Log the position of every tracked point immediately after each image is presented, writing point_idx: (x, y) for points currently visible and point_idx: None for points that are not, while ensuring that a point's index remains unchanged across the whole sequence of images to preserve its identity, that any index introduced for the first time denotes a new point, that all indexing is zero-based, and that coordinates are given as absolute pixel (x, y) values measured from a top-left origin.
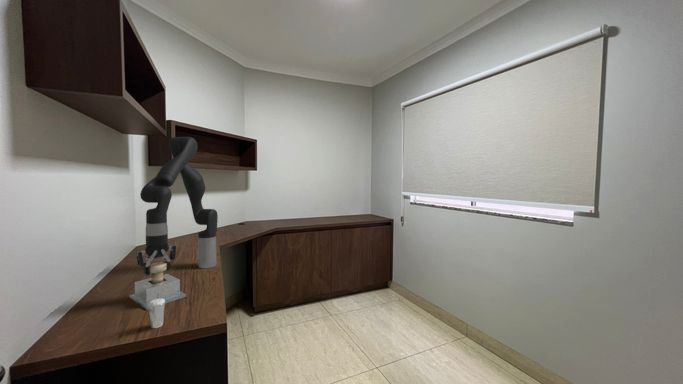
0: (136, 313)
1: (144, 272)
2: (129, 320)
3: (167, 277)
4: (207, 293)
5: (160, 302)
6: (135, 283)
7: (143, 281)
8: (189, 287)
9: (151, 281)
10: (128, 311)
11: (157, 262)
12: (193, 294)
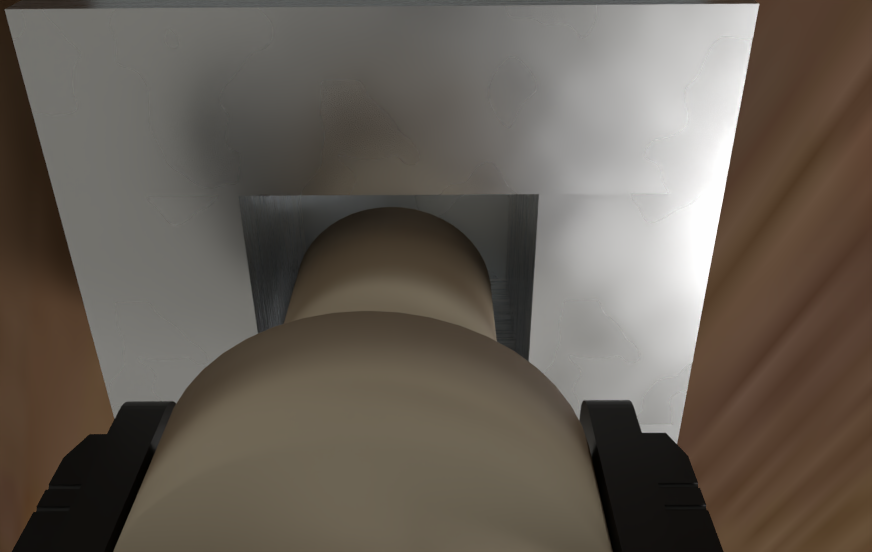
0: (101, 425)
1: (69, 488)
2: (33, 508)
3: (602, 283)
4: (813, 522)
5: None
6: (27, 45)
7: (171, 133)
8: (868, 185)
9: (321, 181)
10: (32, 318)
11: (453, 469)
12: (717, 438)
